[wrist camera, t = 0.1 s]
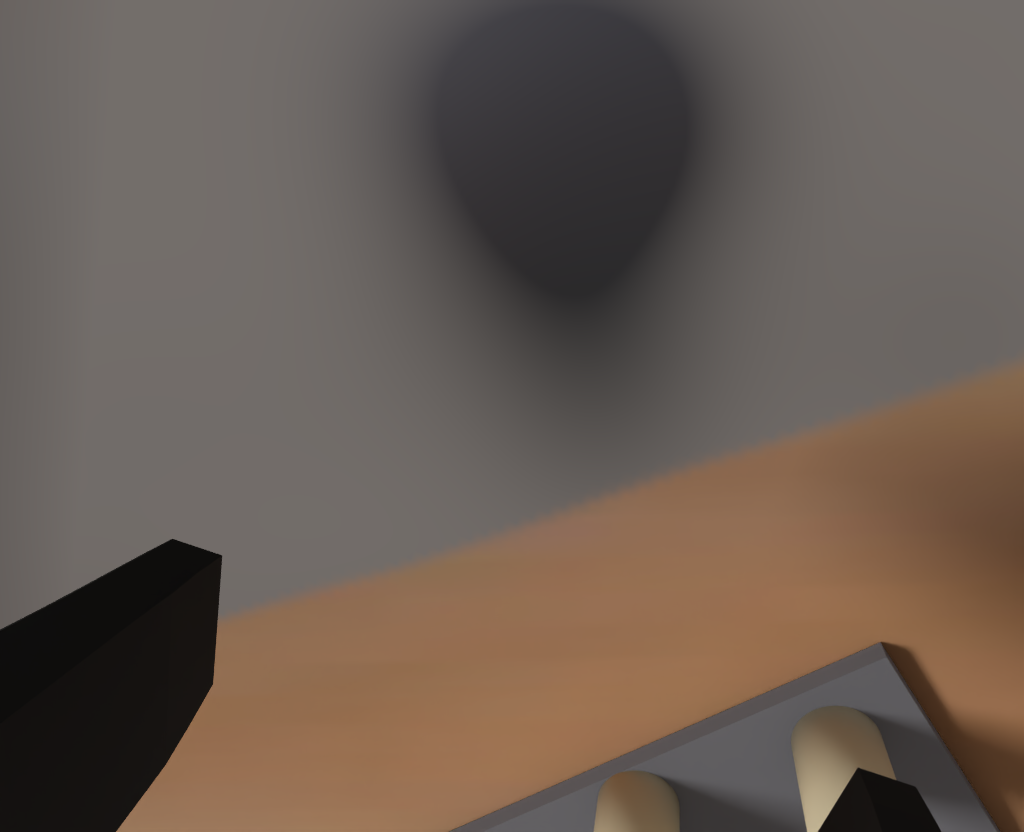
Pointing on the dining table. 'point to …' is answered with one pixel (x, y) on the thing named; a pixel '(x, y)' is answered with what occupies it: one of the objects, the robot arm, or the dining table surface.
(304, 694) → the dining table surface
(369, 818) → the dining table surface
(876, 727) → the spacer field
